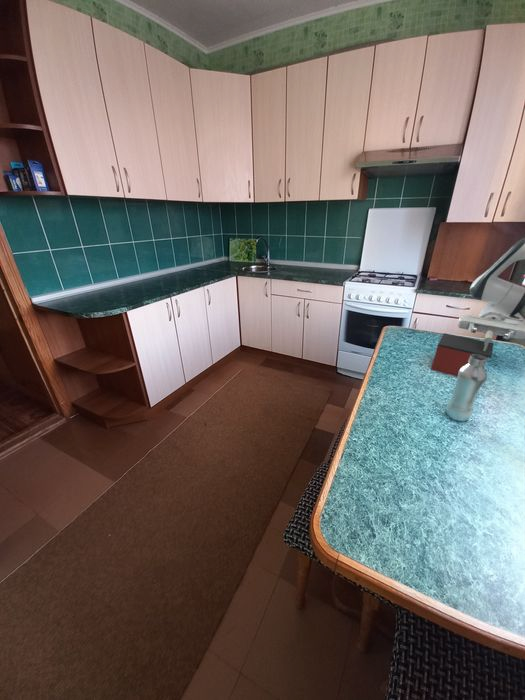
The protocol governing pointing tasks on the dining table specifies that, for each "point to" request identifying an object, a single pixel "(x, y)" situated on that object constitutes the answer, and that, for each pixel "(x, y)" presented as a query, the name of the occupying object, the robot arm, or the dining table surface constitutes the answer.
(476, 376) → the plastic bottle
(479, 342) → the box lid
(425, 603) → the dining table surface
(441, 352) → the red box
